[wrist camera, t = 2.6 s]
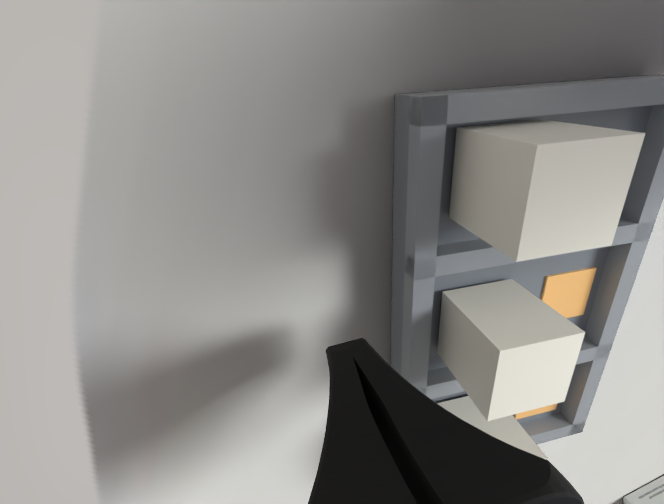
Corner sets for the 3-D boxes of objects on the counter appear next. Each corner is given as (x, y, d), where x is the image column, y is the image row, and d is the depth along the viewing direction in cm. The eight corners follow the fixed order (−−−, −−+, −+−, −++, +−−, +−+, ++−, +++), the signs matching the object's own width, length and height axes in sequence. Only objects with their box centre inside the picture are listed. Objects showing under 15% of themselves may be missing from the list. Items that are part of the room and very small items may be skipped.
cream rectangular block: (511, 278, 15) (585, 332, 12) (501, 339, 16) (564, 401, 13) (442, 291, 14) (499, 350, 11) (437, 352, 15) (487, 421, 12)
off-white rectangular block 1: (491, 390, 17) (547, 458, 14) (484, 434, 19) (533, 504, 15) (432, 404, 17) (476, 478, 14) (428, 448, 18) (468, 524, 15)
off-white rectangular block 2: (540, 119, 12) (645, 133, 9) (524, 206, 13) (611, 245, 10) (456, 127, 11) (537, 144, 8) (448, 217, 13) (516, 261, 10)
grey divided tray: (646, 75, 14) (706, 74, 12) (553, 402, 21) (582, 431, 19) (395, 94, 12) (422, 96, 10) (389, 444, 19) (404, 481, 18)
